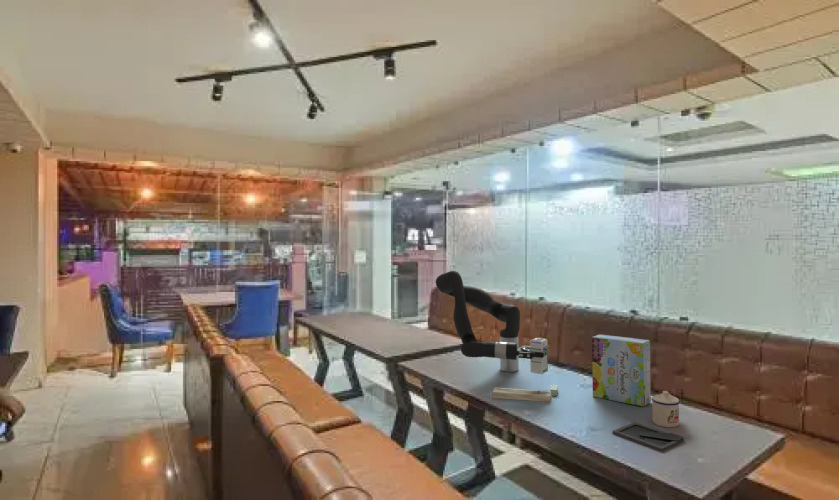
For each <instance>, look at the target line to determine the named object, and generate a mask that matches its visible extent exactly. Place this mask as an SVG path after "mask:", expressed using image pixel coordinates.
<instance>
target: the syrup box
mask: <svg viewBox="0 0 839 500" xmlns="http://www.w3.org/2000/svg"><path fill="white" fill-rule="evenodd" d="M529 343H530V344H529V346H530V350H531V351H533V352H543V353H544V357H543V358H538V357H535V358H533V359H530V373H533V374H538V375H544V374H545V373H547V372H548V371H549V370H548V369H549V363H548V361H549V360H548V359H549V356H548V354H549V352H548V349H549V348H548V345H549V343H548V339H547V338H544V337H535V338H533V339H530V340H529Z"/></svg>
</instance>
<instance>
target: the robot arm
mask: <svg viewBox="0 0 839 500" xmlns="http://www.w3.org/2000/svg"><path fill="white" fill-rule="evenodd" d="M435 286H436V288H437V289H438V291H440V292H441V293H443V294H445V295H448V296H451V297H453V298H454V309H453V316H452V317H453V323H454V327H455V330H456V333H457V335H458V336H459V338H460V339H461V343H462V344H461V346H460V351H461V354H462V355H463V356H464V357H467V358H490V359H491V358H492V359H494V358H495V359H498V360H499V361H500V362H499V365H500V366H499V370H500V371H501V372H502V371H503V372H507V373H510V372H511V373H514V372H518V371H519V370H520V367H519V366H520V365H519V362H520V361H519V359H533V358H535V357H538V358H543V357H544V353H543V352H533V351H531V350H530V345H521V346H520V347H519V334H520V333H519V332H520V330H521V329H520V327H521V312H520V309H519V307H518V306H516V305H514V304H507V303H503V302H499V301H497V300H495V299H494V298H493V296H492V295H491V294H490V293H488V292H487V291H485V290H484V289H482V288H480V287H477V286H473V285H464V283H463V278H462V276H461V274H460V273H459V271H457V270H450V271H448V272H445V273H442V274H440V275H439V276H437V277H436V279H435ZM466 304H469V306H471V307H473V308H475V309H477V310H479V311H482V312H485V313H488V314H490V315H491V316H492V317H493V318H495V319H497V320H498V321H501V322H502V323H505V327H504V328H502V329H501V330H499V341H483V342H482V341H481V342H480V341H479V342H478V340H477V338H476V335H475V333H474V331H473V329H472V324H471V321H470V318H469V314H468V309H467V305H466Z"/></svg>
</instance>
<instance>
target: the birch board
mask: <svg viewBox="0 0 839 500" xmlns="http://www.w3.org/2000/svg"><path fill="white" fill-rule="evenodd" d="M492 398H493V399H507V400H518V401H533V402H542V403H543V402H544V403H545V402H546V403H551V401H552V395H551V391H550V390H549V391H547V390H535V389H534V390H533V389H520V388H510V387H509V388H506V387H494V388H493V390H492Z"/></svg>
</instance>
